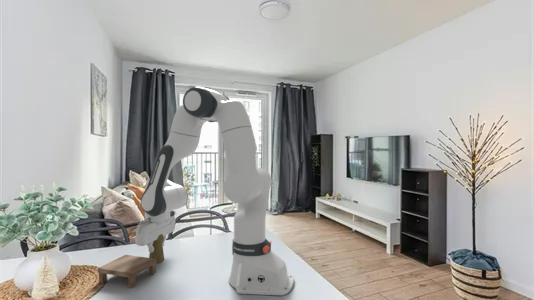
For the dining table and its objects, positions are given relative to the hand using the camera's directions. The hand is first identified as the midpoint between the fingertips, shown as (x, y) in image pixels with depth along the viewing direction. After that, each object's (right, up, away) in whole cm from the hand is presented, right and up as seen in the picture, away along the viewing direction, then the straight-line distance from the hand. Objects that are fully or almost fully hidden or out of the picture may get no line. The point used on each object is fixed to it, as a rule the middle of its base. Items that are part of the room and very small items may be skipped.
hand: (156, 249), depth 109 cm
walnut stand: (-4, -5, -14) cm, 16 cm away
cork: (0, -5, 0) cm, 5 cm away
